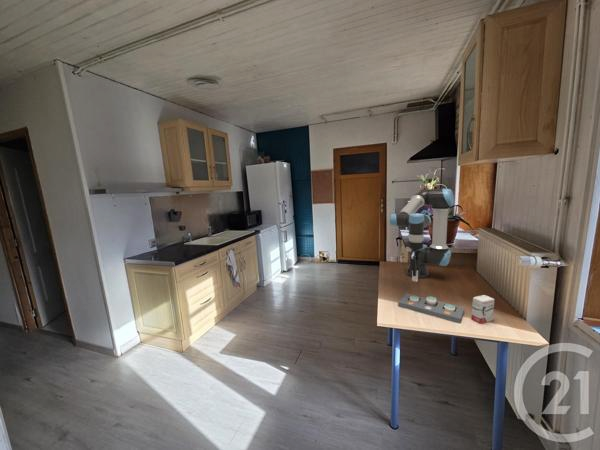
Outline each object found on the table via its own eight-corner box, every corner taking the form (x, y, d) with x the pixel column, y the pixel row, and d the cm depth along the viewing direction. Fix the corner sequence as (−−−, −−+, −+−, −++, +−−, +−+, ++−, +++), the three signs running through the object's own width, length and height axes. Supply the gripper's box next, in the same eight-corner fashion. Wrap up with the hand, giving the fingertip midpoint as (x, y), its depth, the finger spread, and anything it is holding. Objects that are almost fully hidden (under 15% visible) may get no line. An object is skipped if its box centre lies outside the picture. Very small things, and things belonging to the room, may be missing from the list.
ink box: (480, 324, 119) (482, 301, 117) (470, 319, 123) (472, 297, 122) (493, 320, 121) (495, 298, 119) (483, 315, 126) (485, 294, 124)
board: (406, 297, 150) (406, 293, 149) (464, 311, 130) (464, 307, 130) (398, 306, 139) (398, 301, 139) (460, 323, 120) (460, 318, 120)
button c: (445, 308, 134) (445, 302, 133) (455, 311, 131) (455, 305, 130) (443, 312, 130) (443, 306, 130) (453, 315, 127) (454, 308, 127)
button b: (427, 300, 139) (427, 295, 139) (436, 303, 136) (437, 297, 136) (425, 304, 136) (425, 298, 135) (434, 306, 133) (435, 300, 132)
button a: (410, 300, 146) (411, 294, 145) (419, 302, 142) (419, 296, 142) (408, 303, 142) (408, 297, 141) (417, 305, 139) (417, 299, 138)
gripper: (412, 238, 144) (411, 276, 148) (405, 242, 134) (404, 283, 138) (426, 239, 139) (424, 278, 143) (419, 244, 129) (418, 286, 133)
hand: (414, 280), depth 140 cm, fingers closed
